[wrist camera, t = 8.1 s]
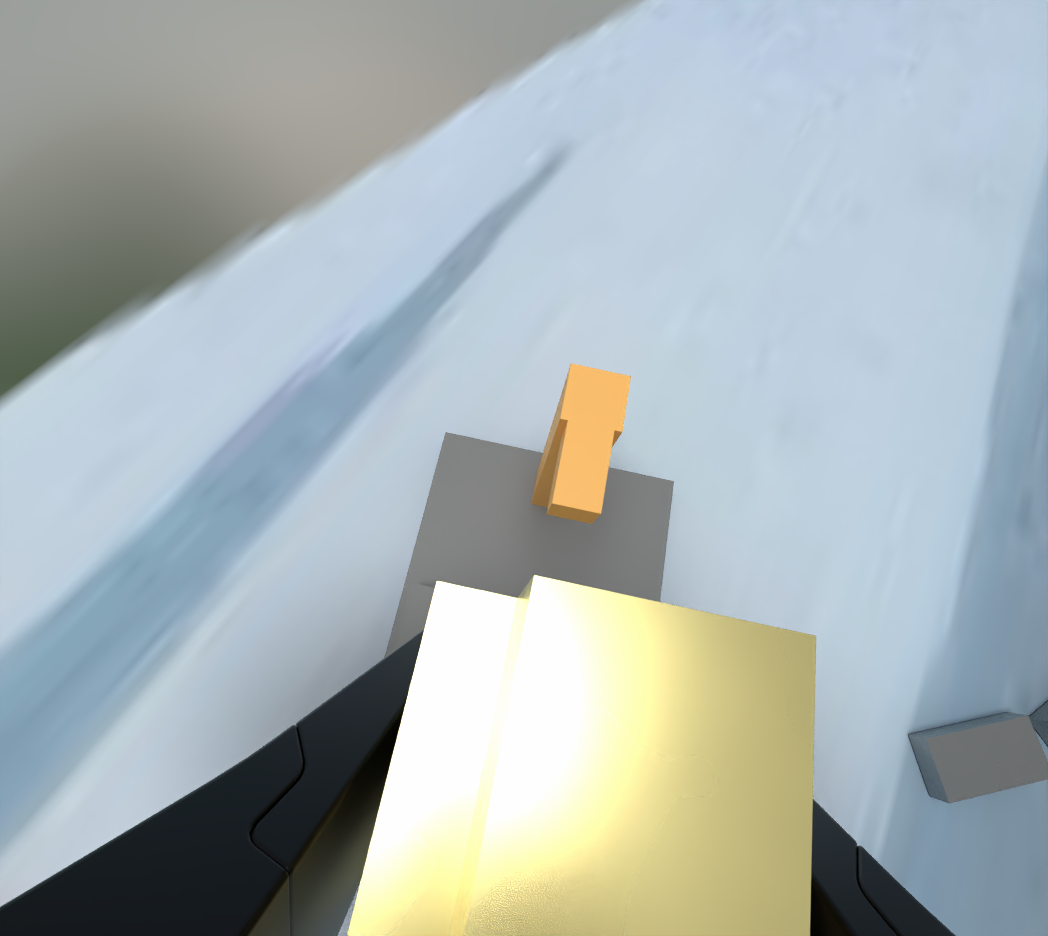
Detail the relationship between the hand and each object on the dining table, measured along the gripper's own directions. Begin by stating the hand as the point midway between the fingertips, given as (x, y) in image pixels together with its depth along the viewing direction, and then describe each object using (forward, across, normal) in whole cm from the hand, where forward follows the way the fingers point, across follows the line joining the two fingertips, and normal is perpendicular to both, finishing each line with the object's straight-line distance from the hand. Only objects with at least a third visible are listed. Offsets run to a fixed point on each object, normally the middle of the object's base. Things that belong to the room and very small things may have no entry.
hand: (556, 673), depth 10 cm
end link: (+4, 0, -6) cm, 7 cm away
